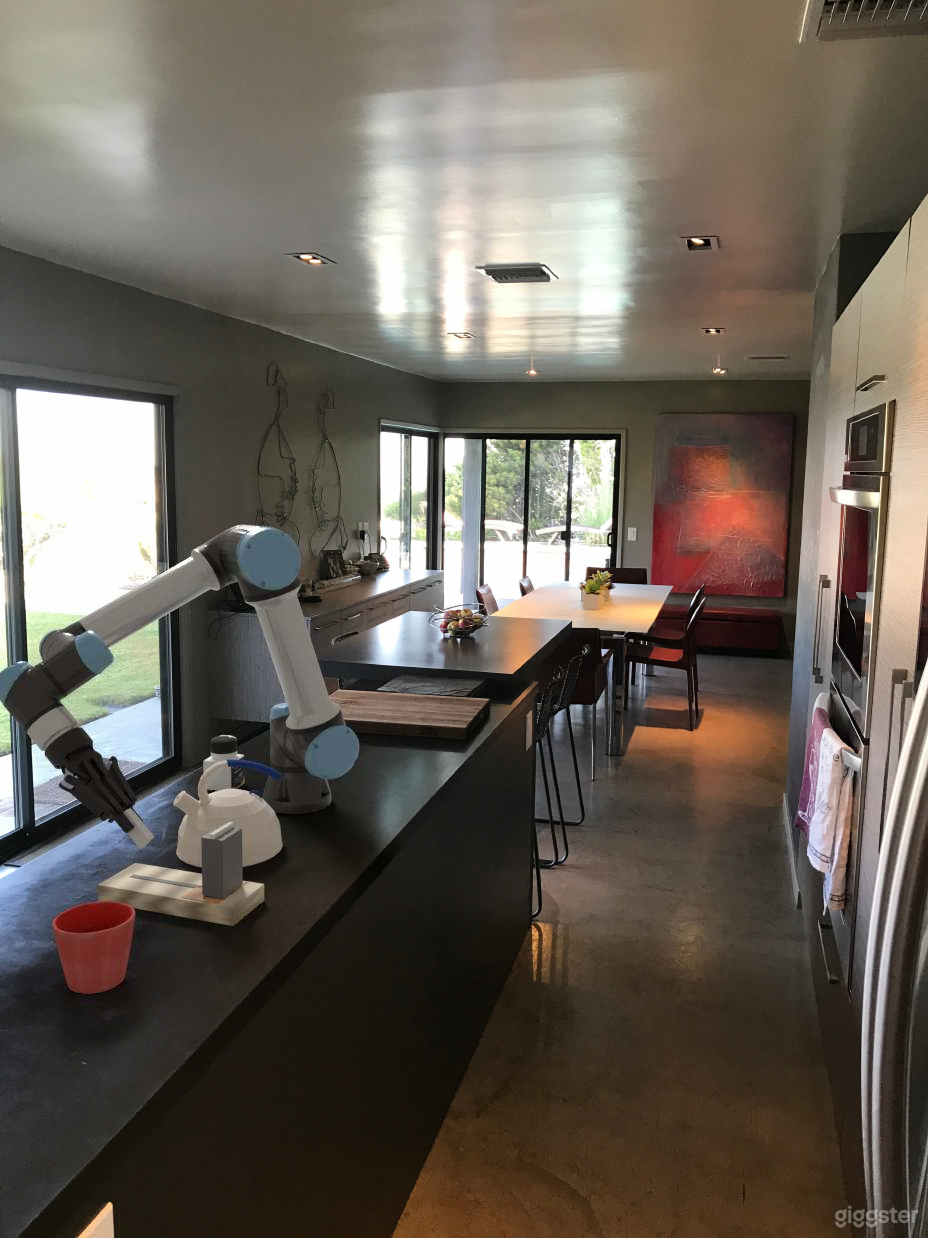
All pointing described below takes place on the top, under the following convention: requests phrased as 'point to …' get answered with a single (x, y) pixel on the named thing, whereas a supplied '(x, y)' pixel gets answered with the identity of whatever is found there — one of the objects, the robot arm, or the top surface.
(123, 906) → the flower pot
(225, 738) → the medicine bottle
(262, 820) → the kettle
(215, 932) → the top surface
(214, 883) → the fader knob
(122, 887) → the fader console
